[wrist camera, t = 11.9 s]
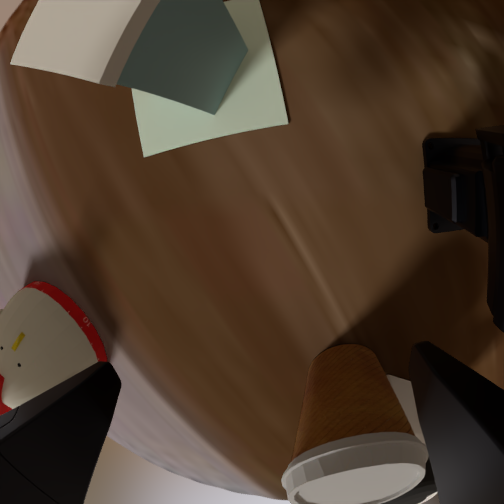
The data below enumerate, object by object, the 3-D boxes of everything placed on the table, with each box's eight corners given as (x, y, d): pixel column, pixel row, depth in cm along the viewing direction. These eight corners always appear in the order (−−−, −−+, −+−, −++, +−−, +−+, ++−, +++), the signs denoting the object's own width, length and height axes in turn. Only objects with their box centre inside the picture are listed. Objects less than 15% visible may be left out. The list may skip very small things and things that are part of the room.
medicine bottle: (343, 416, 25) (350, 518, 14) (386, 371, 22) (416, 485, 11) (392, 426, 25) (408, 515, 14) (434, 387, 23) (468, 480, 11)
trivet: (257, -4, 13) (257, -6, 13) (288, 123, 17) (288, 123, 16) (126, 38, 15) (125, 37, 15) (145, 157, 19) (144, 157, 18)
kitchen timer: (116, 329, 25) (26, 444, 11) (101, 396, 30) (46, 480, 16) (22, 258, 24) (-76, 323, 10) (24, 336, 29) (-40, 399, 15)
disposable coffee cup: (272, 349, 23) (253, 480, 12) (385, 310, 20) (436, 437, 9) (309, 413, 25) (306, 519, 14) (400, 385, 23) (429, 489, 12)
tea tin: (250, 49, 15) (189, -64, 4) (215, 117, 17) (98, 83, 6) (182, 29, 15) (74, -54, 4) (149, 92, 17) (9, 64, 5)
